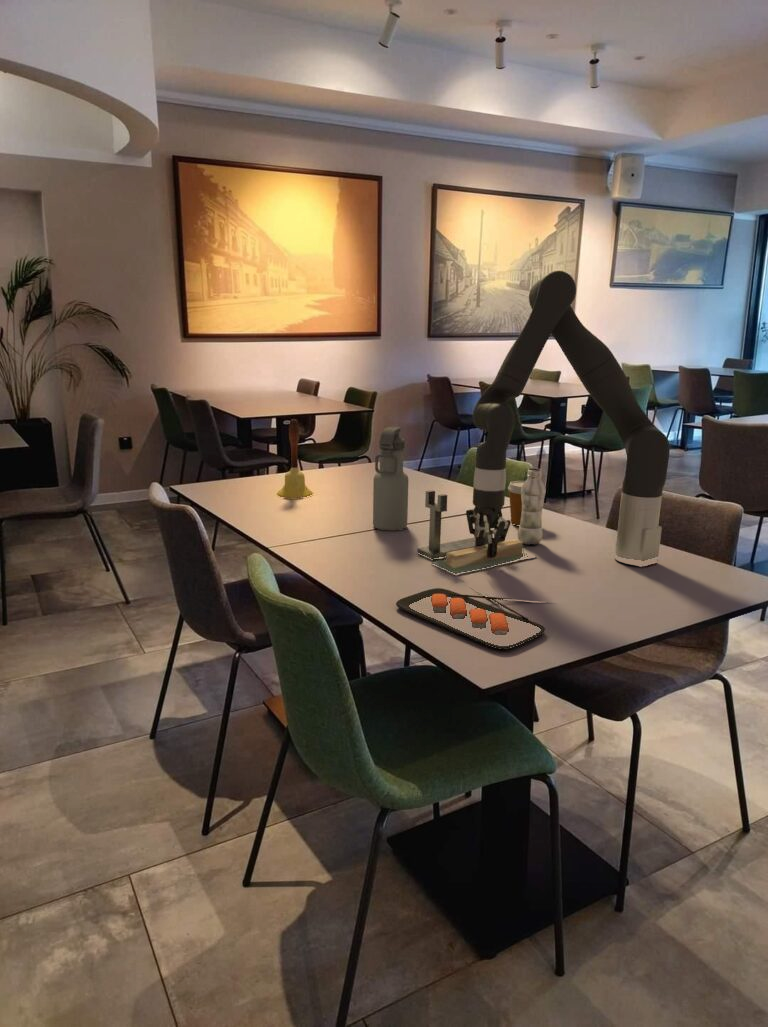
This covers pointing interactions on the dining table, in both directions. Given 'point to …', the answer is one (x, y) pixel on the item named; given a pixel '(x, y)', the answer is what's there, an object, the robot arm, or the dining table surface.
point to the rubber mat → (478, 564)
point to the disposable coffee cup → (515, 501)
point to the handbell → (294, 469)
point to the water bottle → (390, 483)
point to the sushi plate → (459, 612)
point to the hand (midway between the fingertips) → (485, 554)
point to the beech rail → (482, 553)
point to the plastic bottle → (532, 508)
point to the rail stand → (435, 530)
